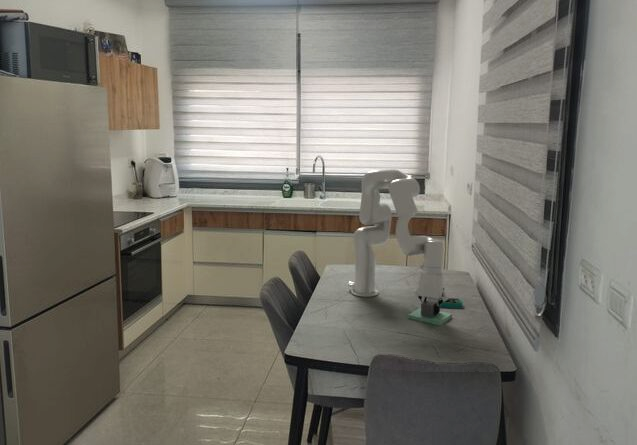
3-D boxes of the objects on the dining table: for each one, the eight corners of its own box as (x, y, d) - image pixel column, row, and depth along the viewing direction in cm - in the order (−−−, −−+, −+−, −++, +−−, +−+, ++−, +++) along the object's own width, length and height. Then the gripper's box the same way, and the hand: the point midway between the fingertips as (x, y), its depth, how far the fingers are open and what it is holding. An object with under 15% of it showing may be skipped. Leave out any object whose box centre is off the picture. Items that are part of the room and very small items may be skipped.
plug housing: (420, 315, 221) (421, 303, 221) (430, 309, 229) (430, 298, 228) (430, 317, 219) (431, 305, 218) (439, 311, 226) (440, 300, 226)
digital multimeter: (463, 309, 237) (463, 303, 236) (428, 308, 238) (429, 301, 238) (460, 304, 244) (461, 297, 244) (427, 302, 245) (427, 296, 245)
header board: (408, 318, 224) (408, 307, 223) (420, 310, 233) (421, 300, 232) (440, 325, 216) (440, 314, 215) (451, 317, 225) (452, 306, 224)
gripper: (409, 268, 223) (407, 311, 226) (448, 275, 213) (446, 319, 216) (417, 264, 229) (415, 306, 232) (455, 271, 219) (453, 314, 222)
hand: (430, 312), depth 224 cm, fingers closed on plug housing, 4 cm apart
